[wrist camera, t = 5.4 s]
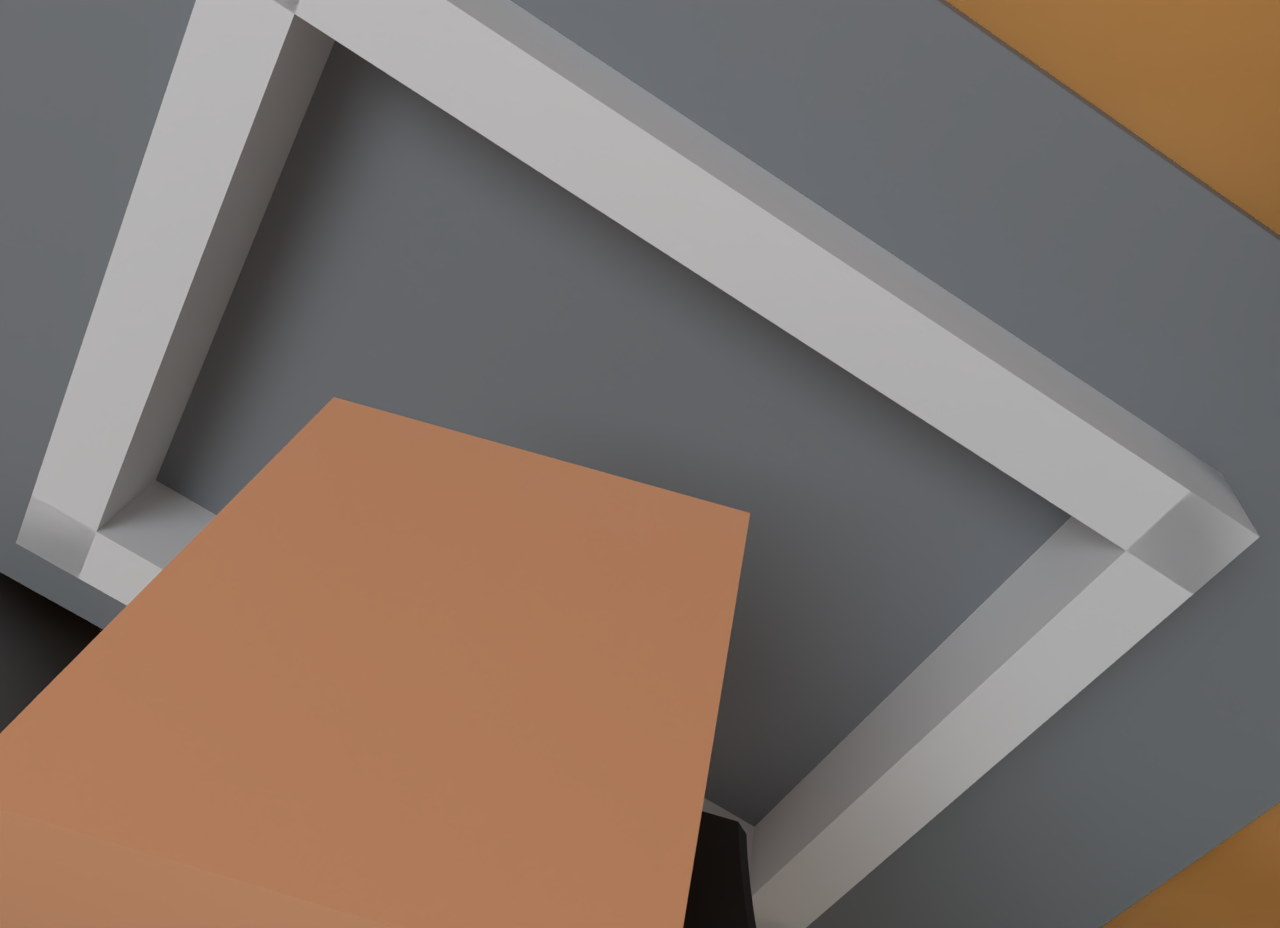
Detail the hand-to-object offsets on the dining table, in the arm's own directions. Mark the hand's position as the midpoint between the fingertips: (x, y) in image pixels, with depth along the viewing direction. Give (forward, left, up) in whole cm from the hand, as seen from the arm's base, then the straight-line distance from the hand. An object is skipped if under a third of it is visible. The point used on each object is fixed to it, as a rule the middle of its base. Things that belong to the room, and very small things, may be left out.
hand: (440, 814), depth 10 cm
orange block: (0, 0, -2) cm, 2 cm away
